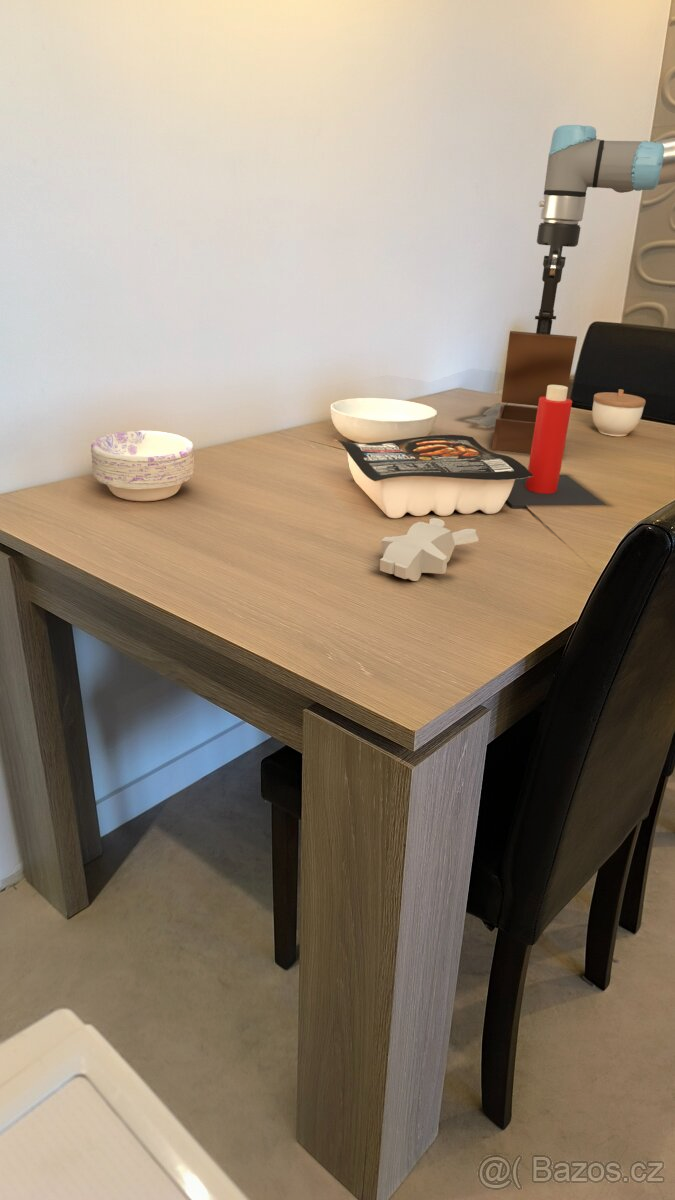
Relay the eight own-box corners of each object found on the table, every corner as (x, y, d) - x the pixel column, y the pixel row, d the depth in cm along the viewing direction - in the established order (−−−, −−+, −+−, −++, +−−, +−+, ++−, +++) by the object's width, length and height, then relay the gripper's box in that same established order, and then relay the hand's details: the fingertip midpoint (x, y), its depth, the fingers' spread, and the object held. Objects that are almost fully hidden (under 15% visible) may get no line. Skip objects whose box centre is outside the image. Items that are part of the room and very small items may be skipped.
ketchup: (549, 484, 142) (566, 383, 134) (561, 493, 137) (580, 390, 130) (520, 484, 141) (536, 383, 133) (532, 493, 136) (548, 389, 129)
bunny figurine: (361, 542, 103) (427, 501, 113) (362, 577, 106) (426, 535, 116) (425, 563, 98) (488, 519, 108) (424, 600, 101) (485, 553, 111)
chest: (557, 461, 158) (563, 425, 155) (491, 453, 160) (496, 418, 157) (558, 442, 170) (563, 409, 168) (496, 436, 173) (501, 403, 170)
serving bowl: (449, 440, 168) (453, 406, 165) (408, 463, 151) (412, 426, 148) (357, 424, 176) (359, 391, 173) (309, 444, 159) (310, 409, 156)
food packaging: (472, 433, 143) (534, 471, 123) (467, 475, 146) (526, 518, 127) (333, 435, 136) (375, 476, 117) (331, 479, 140) (371, 526, 120)
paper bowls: (174, 513, 121) (172, 460, 117) (77, 502, 123) (72, 450, 119) (208, 483, 134) (207, 435, 131) (119, 473, 136) (116, 426, 133)
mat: (566, 478, 148) (566, 475, 147) (605, 508, 133) (606, 504, 133) (480, 478, 145) (480, 474, 145) (511, 508, 131) (512, 504, 130)
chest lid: (576, 338, 156) (577, 336, 157) (509, 332, 159) (510, 330, 159) (563, 408, 167) (564, 406, 168) (501, 402, 170) (501, 400, 170)
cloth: (509, 436, 173) (510, 426, 172) (449, 425, 179) (450, 415, 178) (550, 416, 193) (551, 406, 192) (495, 406, 199) (496, 397, 198)
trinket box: (632, 442, 174) (641, 397, 170) (582, 433, 179) (590, 389, 175) (642, 432, 183) (651, 389, 179) (594, 424, 187) (602, 382, 183)
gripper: (540, 221, 158) (522, 348, 168) (538, 221, 147) (518, 357, 157) (580, 223, 157) (559, 351, 167) (581, 223, 145) (559, 361, 155)
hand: (539, 354), depth 162 cm, fingers closed
